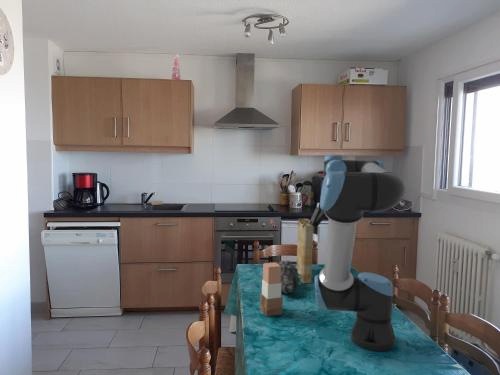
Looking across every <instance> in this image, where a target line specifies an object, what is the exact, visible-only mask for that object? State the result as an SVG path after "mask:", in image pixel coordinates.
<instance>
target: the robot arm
mask: <svg viewBox="0 0 500 375" xmlns="http://www.w3.org/2000/svg"><path fill="white" fill-rule="evenodd" d="M323 158H324V161H323V181H322V184H321V189H320V190H321V192H320V193H321V194H320V199H319V202H316V205H315V209H314V211H313V214H312V216H311V218H310V219H309V224H310V225H312V226H313V242H315V243H320V233H321V232H320V230H321V227H320V226H319V225H320V224H321V223H322V221H323V220H324V218H326V217H327V219H328V221H327V222H328V223H327V233H326V246H325V247H326V248H325V257H324V258H325V259H324V266H323V268H322V269H321V270H320V271H319V274H317V275H315V276H314V290H315V302H316V306H317V307H318V309H321V310H326V311H339V312H341V311H342V312H355V313H356V318H355V320H354V322H353V326H352V327H351V330H350V340H351V342H352V343H353V344H354V345H356V346H358V347H360V348H362V349H365V350H369V351H372V352H373V351H374V352H389V351H391V350H393V349H394V348H395V347H396V341H397V340H396V336H395V331H394V328H393V327H394V326H393V324H392V313H393V312H392V311H393V310H392V309H393V297H394V286H393V282H392V281H391V280H390V279H388V278H387V277H385V276H383V275H380V274H377V273H373V272H360V273H358V275H357V277H354V275H353V274H352V272H351V268H352V261H353V253H354V252H353V251H354V246H355V239H356V232H357V230H356V229H357V224H358V223H359V221H361V220H362V219H363V218H364V214H365V212H366V213H378V212H385V211H388V210H390V209H392V208H394V207H395V206H397V205H398V204H400V202H401V201H402V200H403V198H404V195H405V191H406V189H405V188H406V187H405V184H404V182H403V180H402V178H401V177H400V176H398V175H397V174H396V173H393V172H391V171H387V170H386V169H385V168H386V167H385V163H384V161H382V160H375V159H373V160H364V159H363V160H362V159H361V160H356V159H355V160H354V159H343V156H342V155H341V154H326V155H325V156H324V157H323Z"/></svg>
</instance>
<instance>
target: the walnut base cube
mask: <svg viewBox="0 0 500 375" xmlns="http://www.w3.org/2000/svg"><path fill="white" fill-rule="evenodd" d="M283 300H284V297H282V296H281V298H274V299H267V298H266V297H265V296H263V295H262V292H261V293H260V294H259V310H260V312H262V313H263V314H264V316H265V317H273V316H278V315H283V305H284V304H283V302H284V301H283Z"/></svg>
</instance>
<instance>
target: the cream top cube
mask: <svg viewBox="0 0 500 375" xmlns="http://www.w3.org/2000/svg"><path fill="white" fill-rule="evenodd" d="M261 293H262V295H263V296H265V297H266V298H267V299H274V298H281V297H282V291H281V283H275V284H267V283H266V282H265V281H264V280H263V279H262V281H261Z"/></svg>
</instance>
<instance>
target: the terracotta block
mask: <svg viewBox="0 0 500 375" xmlns="http://www.w3.org/2000/svg"><path fill="white" fill-rule="evenodd" d="M277 263H278V262H265V263H263V264H262V267H263V269H262V280H264V281H265V282H266V283H267V284H275V283H281V266H280V265H279V264H277Z"/></svg>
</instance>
